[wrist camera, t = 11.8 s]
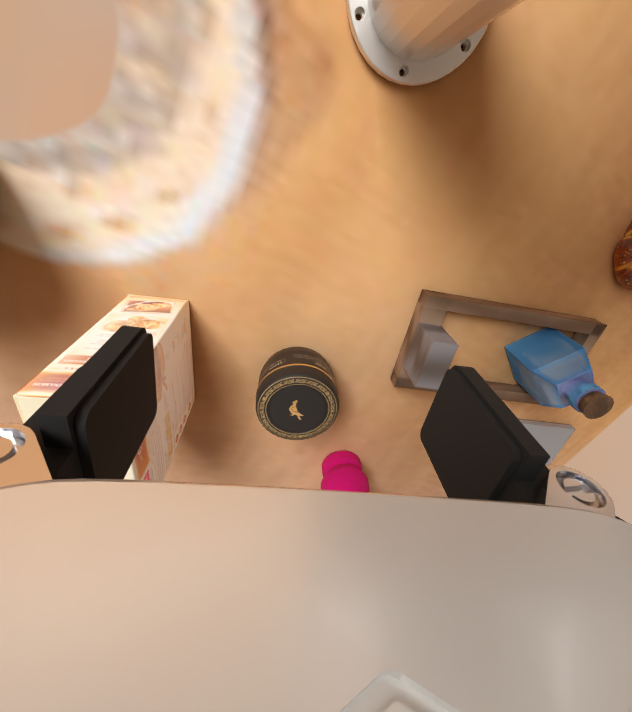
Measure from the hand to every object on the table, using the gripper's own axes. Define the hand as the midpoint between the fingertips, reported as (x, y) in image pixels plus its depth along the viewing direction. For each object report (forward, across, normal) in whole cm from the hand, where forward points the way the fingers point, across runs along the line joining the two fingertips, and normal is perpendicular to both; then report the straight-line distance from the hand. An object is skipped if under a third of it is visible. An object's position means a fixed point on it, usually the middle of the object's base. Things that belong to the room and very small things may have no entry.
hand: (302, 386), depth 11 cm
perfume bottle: (+30, -35, +11) cm, 48 cm away
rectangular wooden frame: (+30, -29, +12) cm, 43 cm away
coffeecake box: (+30, +14, +18) cm, 38 cm away
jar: (+30, -3, +19) cm, 36 cm away
